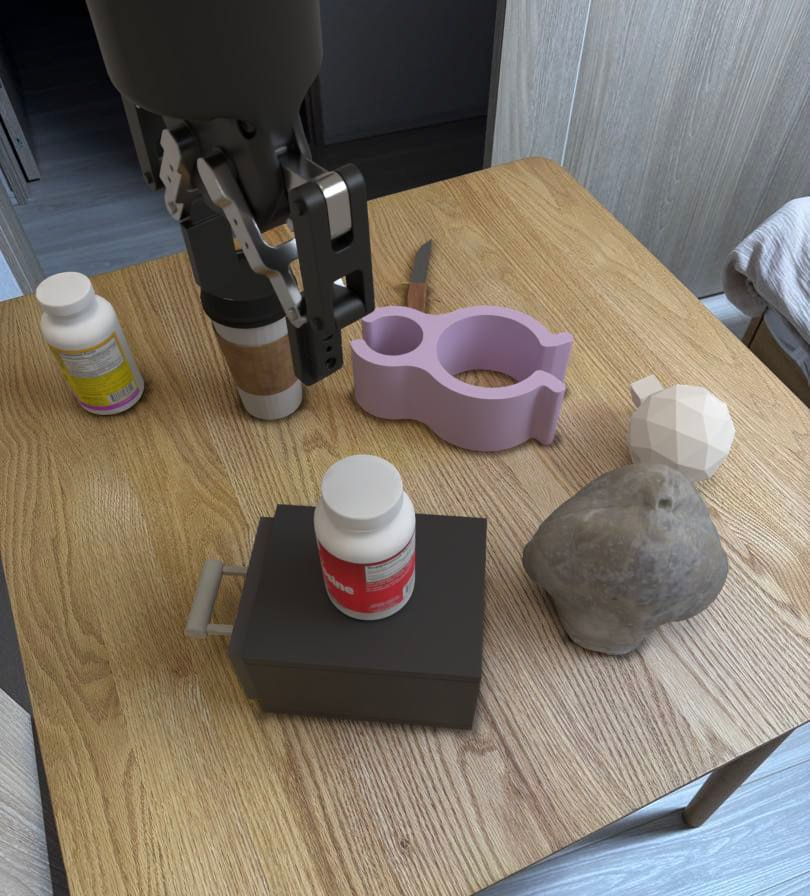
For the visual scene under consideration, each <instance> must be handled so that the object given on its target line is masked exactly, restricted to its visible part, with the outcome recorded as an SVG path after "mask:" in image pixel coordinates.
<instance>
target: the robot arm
mask: <svg viewBox="0 0 810 896" xmlns="http://www.w3.org/2000/svg"><path fill="white" fill-rule="evenodd" d="M85 3H86V7H87V10H88V13H89V16H90V19H91V23H92V26H93V29H94V33H95V36H96V40H97V43H98V46H99V49H100V53H101V55H102V59H103V62H104V65H105V68H106V72H107V76H108V77H109V79H110V82H111V83H112V84H113V86H114V88H115V89H116V90H117V91H118V92H119V94H120V97H121V100H122V104H123V107H124V111H125V114H126V118H127V122H128V126H129V130H130V133H131V137H132V141H133V144H134V148H135V151H136V152H135V153H136V156H137V159H138V163H139V166H140V170H141V173H142V178H143V180H144V182H145V183H146V185H147V186H148V188H150V190H152V192H156V191H159V190H161V189H163V191H164V197H163V198H164V202H165V208H166V210H167V212H168V213H169V214H170V215H171V217H172V218H173V219H174V220H175V221H176V222H179V227H180V230H181V235H182V238H183V242H184V245H185V249H186V253H187V256H188V260H189V264H190V267H191V271H192V274H193V279H194V283H195V284H196V285H197V286H198V287H199V288H201V289H203V290H204V291H205V292H207V293H212V292H214V291H216V290H218V289H220V288H222V287H224V286H226V285H228V284H231V283H233V282H234V281H236V280H237V279H238V277H239V274H240V269H239V264H238V259H237V254H236V250H237V249H236V246H235V242H234V241H235V240H234V236H235V238H236V239H237V242H238V243H239V245H240V249H242V250H243V252H244V254H245V256H246V258H247V260H248V262H249V264H250V266H251V268H252V270H253V271H254V272H255V273H257V274H259V275H265V276H267V277H268V278H269V279H270V281H271V284H272V286H273V288H274V290H275V292H276V294H277V296H278V298H279V300H280V303H281V305H282V307H283V309H284V311H285V313H286V317H285V319H286V325H287V331H288V338H289V344H290V350H291V357H292V363H293V369H294V375H295V376H296V377H297V378H298V379H299V380H300V381H301V384H303V385H304V386H306V387H312V386H314V385H315V384H317V383H319V382H321V381H323V380H325V379H326V378H328V377H329V376H331V375H333V374H335V373H337V371H340V370H341V369H342V368H343V366H344V363H345V362H344V353H343V352H344V351H343V338H342V330H343V329H345V328H347V327H348V326H350V325H352V324H354V323H355V322H358V321H360V320H361V318H363V317H365V316H367V315H369V314H370V313H372V312H374V310H375V309H376V297H375V287H374V276H373V275H374V272H373V259H372V249H371V247H372V245H371V234H370V222H369V209H368V196H367V186H366V185H367V184H366V181H365V177H364V176H363V174H362V172H361V170H360V169H359V167H358V166H357V165H355V164H353V163H347V164H345V165H342V166H341V167H338V168H336V169H334V170H331V171H328V170H327V169H326V168H324V167H322V166H321V165H319V164H317V163H315V162H314V161H313V157H312V153H311V152H312V151H311V149H310V146H309V144H308V139H307V138H306V134H305V131H304V127H303V123H302V119H301V116H300V110H301V106H302V103H303V101H304V99H305V97H306V95H307V92H308V91H309V89H310V87H311V86H312V84H313V82H314V81H315V80H316V78H317V77H318V75H319V73H320V70H321V67H322V64H323V58H324V48H323V33H322V24H321V23H322V22H321V21H322V20H321V7H320V0H85ZM158 140H160V141H159V143H160V146H161V147H162V149H163V155H162V156H161V157H159V155H158V151H157V147H156V144H157V143H158ZM180 221H181V222H180ZM285 223H286V225H287V228H288V230H289V231H290V232H292V233H293V235H294V237H293V238H291V239H288V240H286V241H284V242H282V243H280V244H278V245H271V244H270V243H268V242H267V241H266V240H265V239H264V236H263V234H265V233H266V232H268V231H270V230H273V229H275V228H277V227H279V226H281V225H283V224H285ZM233 233H234V235H233ZM296 260H298V266H299V270H300V277H301V284H302V291H300V289H299V286H298V287H297V285H296V282H295V280H294V278H293V276H292V274H291V272H290V266H291V264H292V263H293V262H294V261H296ZM344 277H345V283H344V279H343V278H344ZM201 289H200V290H201Z"/></svg>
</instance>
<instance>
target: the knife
mask: <svg viewBox="0 0 810 896" xmlns="http://www.w3.org/2000/svg"><path fill="white" fill-rule="evenodd" d="M432 242H433V238H431V239H429V240H428V241H426V242H425V243H423V244H422V245H420V247H419V248H418V250H417V252H416V253H415V255H414V256H415V257H414V262H413V268H412V272H411V278H410V281H401V282H400V286H401V287H408V292H407V299H406V307H408V308H412V309H415V310H418V311H420V312H423V313H426V303H427V293H428V292H427V291H428V283H427V282H426V281H427V277H428V276H427V274H428V269H429V263H430V256H431V250H432Z"/></svg>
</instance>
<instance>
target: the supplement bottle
mask: <svg viewBox="0 0 810 896" xmlns="http://www.w3.org/2000/svg"><path fill="white" fill-rule="evenodd" d="M35 298H36V300H37V303H38V304H39V306H40V308H41V310H42V311H43V313H42V316H41V317H40V325H39V326H40V332H41V334H42V336H43V338H44V341H45V342H46V344H47V346H48V347H49V349H50V352H51V353H52V356H54V359H55V361H56V363H57V364H58V366H59V368H60V370H61V372H62V374H63V375H64V376H63V377H64V378H65V380H66V381H67V384H68V385H69V387H70V389H71V391H72V393H73V394H74V396H75V399H76V400H77V401H78V403H79V405H80V406H81V407H82V408H83V409H84V410H86V411H87V412H89V413H91V414H94V415H98V416H109V415H116V414H119V413H120V414H121V413H123V412H124V411H127V410H128V409H130V408H132V407H134V405H135V404H137V402H138V401H140V399H141V397H142V395H143V393H144V390H145V381H144V378H143V375H142V372H141V370H140V368H139V365H138V363H137V360H136V358H135V356H134V353H133V351H132V349H131V346H130V344H129V342H128V339H127V337H126V335H125V332H124V329H123V328H122V325H121V323H120V320H119V316H118V315H117V312H116V310H115V308H114V307H113V305H112V303H110V302H109V301H108V300H107V299H106V298H104V297H102V296H101V295H98V294H96V291H95V289H94V287H93V284H92V282H91V280H90V279H89V277H87V275H85V274H83V273H81V272H78V271H63V272H59V273H55V274H52V275H50V276H48V277H46V278H45V279H44V280H42V282H40V283H39V284H38V285H37V288H36V289H35Z"/></svg>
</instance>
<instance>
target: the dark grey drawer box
mask: <svg viewBox="0 0 810 896" xmlns="http://www.w3.org/2000/svg"><path fill="white" fill-rule="evenodd" d="M316 506H317V505H316ZM316 506H314V505H299V504H283V503H277V504H276V506H275V511H274V516H273V517H274V520H273V524H272V528H271V533H270V537H269V541H268V546H267V550H266V554H265V558H264V563H263V567H262V571H261V576H260V580H259V584H258V589H257V593H256V597H255V602H254V606H253V610H252V614H251V619H250V623H249V627H248V632H247V636H246V640H245V645H244V649H243V653H242V661H243V663H244V665H245V667H246V669H247V672H248V674H249V676H250V678H251V681H252V683H253V685H254V687H255V690H256V692H257V694H258V696H259V699H260V700H259V701H260V704H261V705H262V708H263V709H264V713H265V714H277V715H288V716H289V715H290V716H302V717H312V718H313V717H314V718H324V719H325V718H326V719H337V720H349V721H362V722H373V723H382V724H383V723H384V724H385V723H386V724H396V725H407V726H408V725H409V726H420V727H431V728H444V729H453V730H454V729H455V730H467V731H472V730H473V726H474V719H475V714H476V709H477V703H478V698H479V692H480V687H481V681H482V676H483V675H482V673H483V648H484V647H483V646H484V645H483V644H484V620H485V619H484V617H485V595H486V594H485V591H486V590H485V589H486V563H487V561H486V560H487V539H488V538H487V536H488V535H487V534H488V518H487V517H477V516H476V517H475V516H461V515H446V514H445V515H444V514H430V513H417V512H415V522H416V525H415V583H414V588H413V592H412V594H411V596H410V598H409V600H408V601H407V603H406V604H405V605H404V606H403V607H402V608H401V609H400V610H399V611H397V612H396V613H394V614H392V615H390V616H388V617H385V618H382V619H377V620H360V619H356V618H352V617H350V616H348V615H346V614H344V613H343V612H341V611H340V610H339V609H338V608H337V607H336V606H335V605H334V604H333V603H332V601H331V599H330V598H329V595H328V593H327V590H326V587H325V582H324V577H323V572H322V566H321V561H320V556H319V550H318V545H317V539H316V534H315V528H314V513H315V509H316Z"/></svg>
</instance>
